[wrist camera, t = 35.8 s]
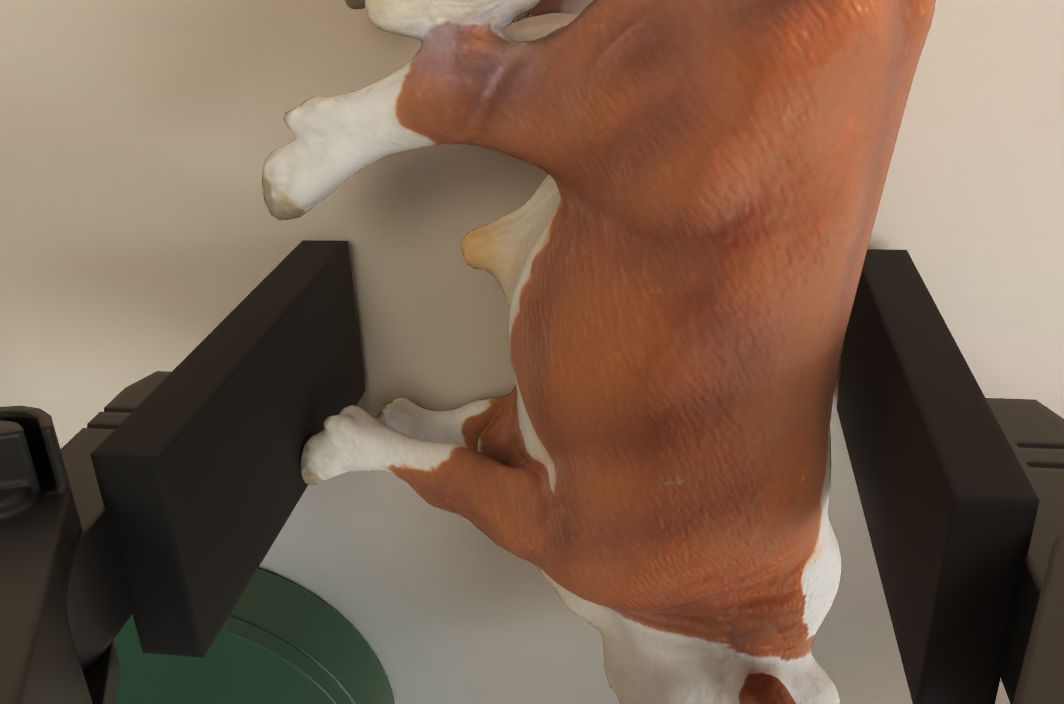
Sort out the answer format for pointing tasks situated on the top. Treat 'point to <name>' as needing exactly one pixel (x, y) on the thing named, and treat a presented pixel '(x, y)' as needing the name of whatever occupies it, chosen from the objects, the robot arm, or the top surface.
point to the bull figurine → (645, 305)
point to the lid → (261, 656)
